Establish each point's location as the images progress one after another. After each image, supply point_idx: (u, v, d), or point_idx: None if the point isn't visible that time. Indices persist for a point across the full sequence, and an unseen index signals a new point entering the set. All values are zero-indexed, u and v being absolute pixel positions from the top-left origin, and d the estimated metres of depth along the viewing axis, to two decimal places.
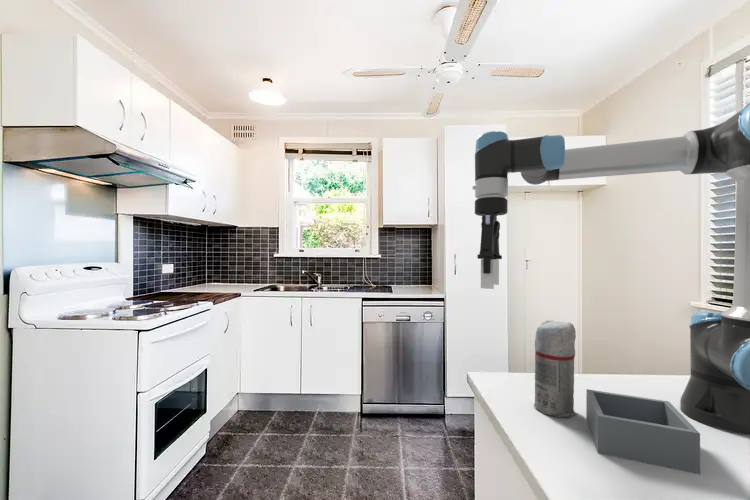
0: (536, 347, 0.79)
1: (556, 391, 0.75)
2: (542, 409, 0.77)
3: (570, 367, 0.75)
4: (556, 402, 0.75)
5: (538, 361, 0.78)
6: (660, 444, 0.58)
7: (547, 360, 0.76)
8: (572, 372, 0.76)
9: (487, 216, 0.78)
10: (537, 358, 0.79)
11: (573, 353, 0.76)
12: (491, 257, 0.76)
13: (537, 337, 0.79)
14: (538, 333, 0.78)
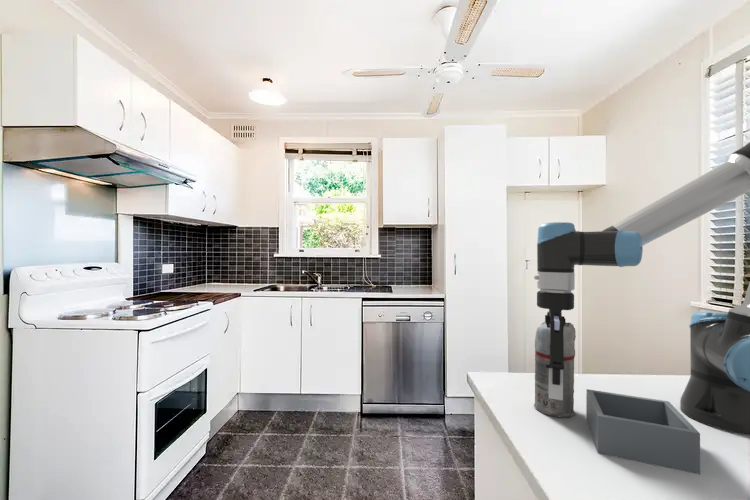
0: (536, 347, 0.79)
1: None
2: (542, 409, 0.77)
3: (570, 367, 0.75)
4: (556, 402, 0.75)
5: (538, 361, 0.78)
6: (660, 444, 0.58)
7: (547, 360, 0.76)
8: (572, 372, 0.76)
9: (557, 323, 0.73)
10: (537, 358, 0.79)
11: (573, 353, 0.76)
12: (561, 369, 0.73)
13: (537, 337, 0.79)
14: (538, 333, 0.78)
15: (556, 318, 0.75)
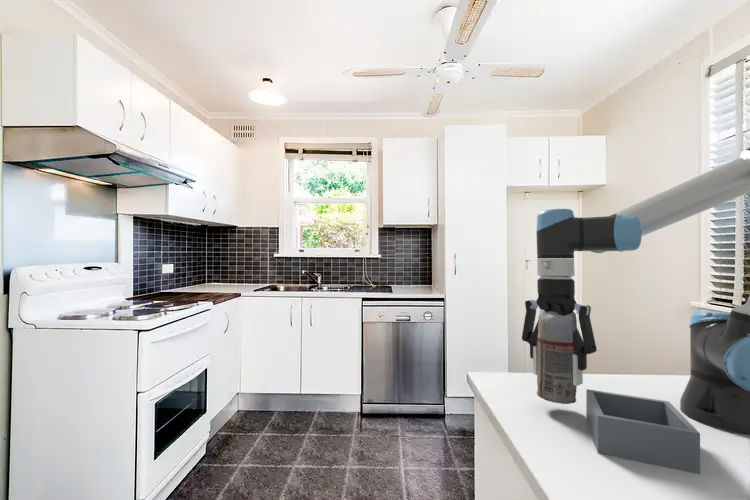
0: (554, 338, 0.76)
1: None
2: (564, 400, 0.75)
3: None
4: (575, 387, 0.76)
5: (560, 351, 0.75)
6: (660, 444, 0.58)
7: (571, 348, 0.75)
8: None
9: (588, 308, 0.74)
10: (557, 349, 0.75)
11: None
12: None
13: (554, 327, 0.76)
14: (558, 323, 0.75)
15: (575, 303, 0.76)
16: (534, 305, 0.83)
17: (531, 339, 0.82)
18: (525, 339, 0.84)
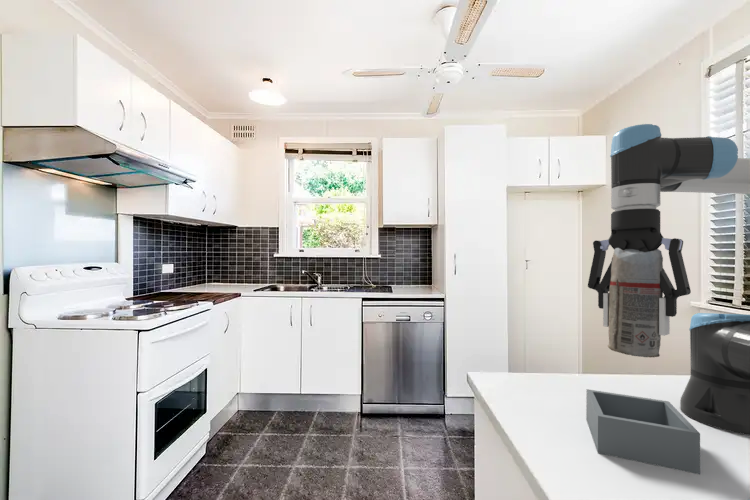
0: (635, 278, 0.63)
1: None
2: (648, 353, 0.62)
3: None
4: (659, 339, 0.63)
5: (643, 294, 0.62)
6: (660, 444, 0.58)
7: (657, 290, 0.62)
8: None
9: (681, 241, 0.61)
10: (640, 291, 0.62)
11: None
12: None
13: (637, 265, 0.63)
14: (641, 260, 0.62)
15: (663, 238, 0.63)
16: (605, 245, 0.70)
17: (601, 285, 0.70)
18: (592, 286, 0.71)
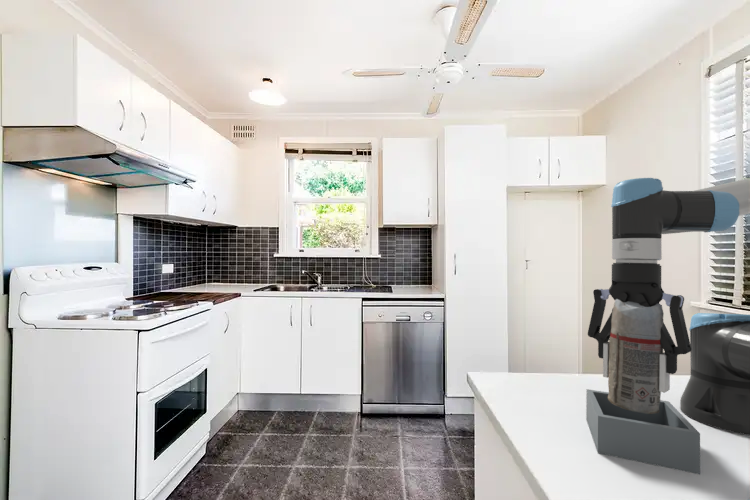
0: (636, 334, 0.62)
1: None
2: (648, 409, 0.62)
3: None
4: (659, 394, 0.62)
5: (644, 350, 0.62)
6: (660, 444, 0.58)
7: (657, 346, 0.62)
8: None
9: (682, 298, 0.60)
10: (640, 347, 0.62)
11: None
12: None
13: (637, 321, 0.62)
14: (642, 315, 0.62)
15: (664, 293, 0.62)
16: (605, 295, 0.69)
17: (601, 335, 0.69)
18: (592, 335, 0.70)
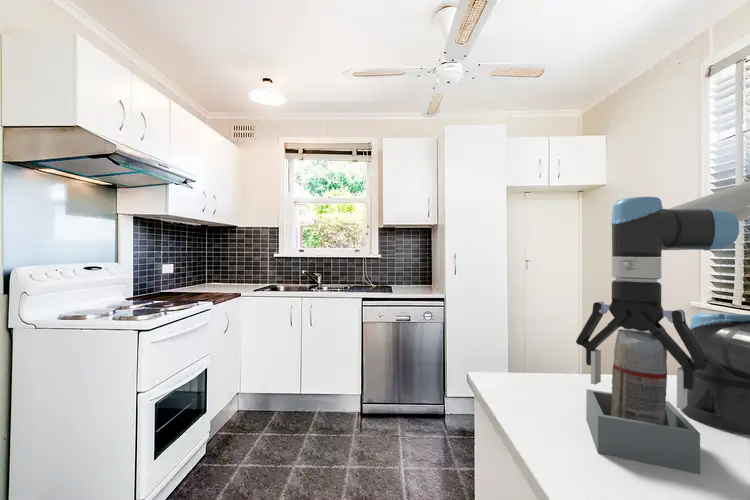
0: (639, 367, 0.62)
1: (664, 415, 0.62)
2: None
3: None
4: None
5: (647, 384, 0.61)
6: (660, 444, 0.58)
7: (661, 380, 0.61)
8: None
9: (682, 312, 0.60)
10: (644, 381, 0.61)
11: None
12: None
13: (641, 354, 0.62)
14: (645, 349, 0.62)
15: (663, 310, 0.62)
16: (604, 309, 0.70)
17: (589, 343, 0.71)
18: (580, 343, 0.72)
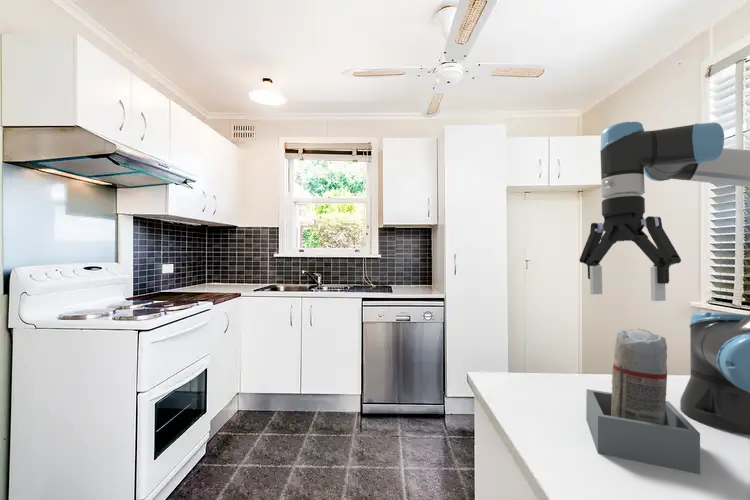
0: (639, 368, 0.62)
1: (664, 415, 0.62)
2: None
3: None
4: None
5: (647, 385, 0.61)
6: (660, 444, 0.58)
7: (661, 381, 0.61)
8: None
9: (656, 217, 0.68)
10: (644, 382, 0.61)
11: None
12: None
13: (641, 355, 0.62)
14: (645, 349, 0.62)
15: None
16: (600, 228, 0.79)
17: (589, 259, 0.81)
18: (582, 261, 0.83)
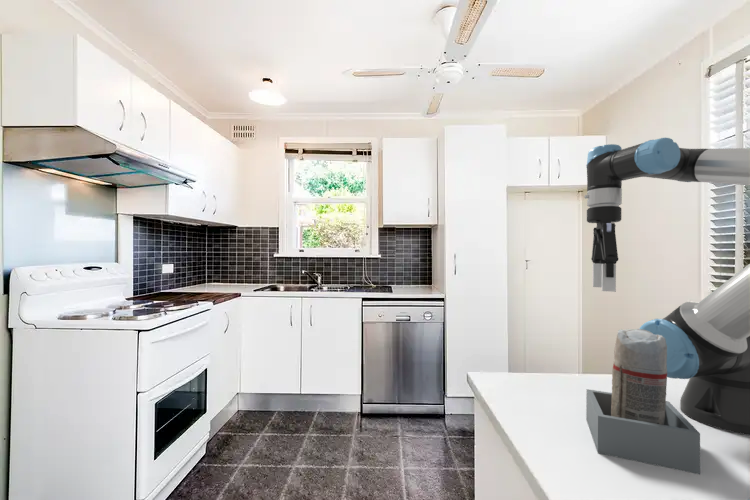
0: (639, 368, 0.62)
1: (664, 415, 0.62)
2: None
3: None
4: None
5: (647, 385, 0.61)
6: (660, 444, 0.58)
7: (661, 381, 0.61)
8: None
9: (609, 224, 0.84)
10: (644, 382, 0.61)
11: None
12: (615, 262, 0.82)
13: (641, 355, 0.62)
14: (645, 349, 0.62)
15: None
16: None
17: (593, 258, 0.97)
18: (592, 259, 0.99)
